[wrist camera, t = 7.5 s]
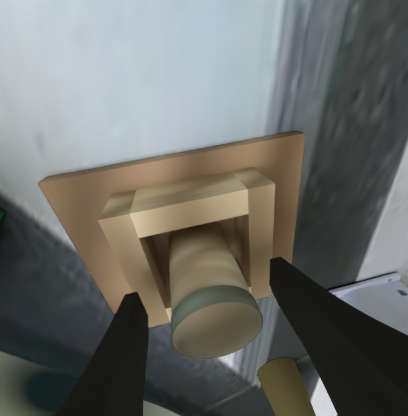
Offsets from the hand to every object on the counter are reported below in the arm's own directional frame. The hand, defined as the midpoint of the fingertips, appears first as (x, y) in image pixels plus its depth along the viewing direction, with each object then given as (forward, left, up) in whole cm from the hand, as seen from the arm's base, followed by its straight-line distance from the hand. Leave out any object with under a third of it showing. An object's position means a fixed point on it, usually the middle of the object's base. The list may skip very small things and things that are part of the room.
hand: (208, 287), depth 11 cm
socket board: (0, 0, -6) cm, 6 cm away
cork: (-8, +28, -6) cm, 30 cm away
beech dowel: (0, 0, -5) cm, 5 cm away
